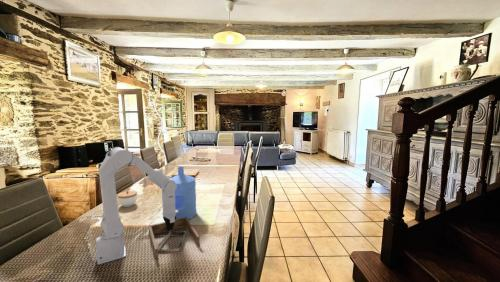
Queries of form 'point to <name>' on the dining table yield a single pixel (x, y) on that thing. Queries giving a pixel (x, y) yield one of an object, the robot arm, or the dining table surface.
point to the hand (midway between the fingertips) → (170, 230)
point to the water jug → (185, 195)
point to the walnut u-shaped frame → (177, 224)
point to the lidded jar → (127, 198)
